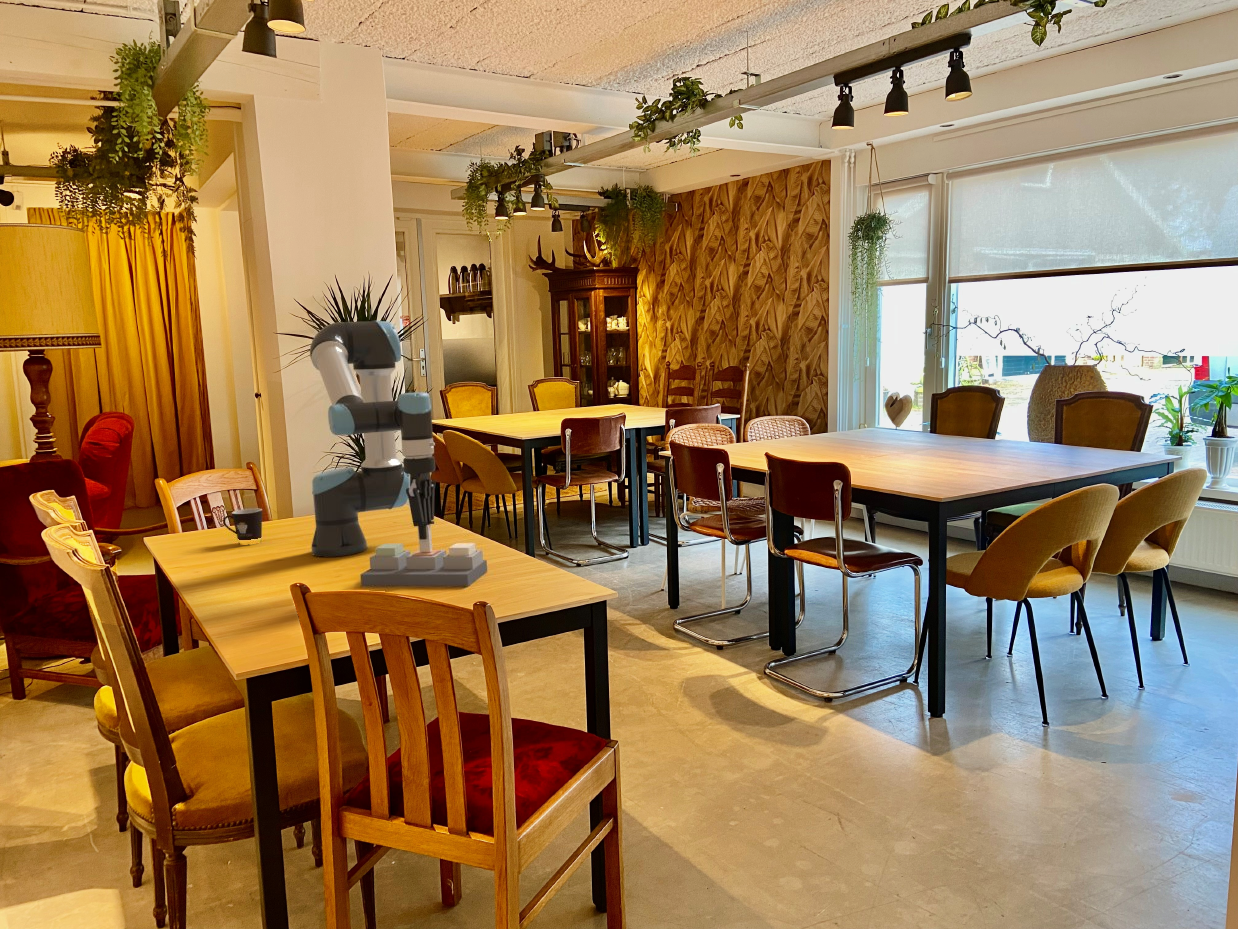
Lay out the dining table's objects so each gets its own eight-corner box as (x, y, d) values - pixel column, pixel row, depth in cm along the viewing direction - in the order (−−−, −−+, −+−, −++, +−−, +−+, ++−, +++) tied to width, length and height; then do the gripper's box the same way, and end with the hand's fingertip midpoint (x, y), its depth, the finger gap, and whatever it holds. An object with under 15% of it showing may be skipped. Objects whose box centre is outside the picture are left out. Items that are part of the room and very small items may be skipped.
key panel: (361, 586, 213) (359, 562, 213) (386, 571, 227) (384, 548, 226) (468, 586, 208) (466, 561, 208) (487, 571, 222) (485, 548, 221)
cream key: (449, 560, 215) (448, 547, 214) (457, 555, 220) (456, 543, 219) (469, 560, 214) (468, 547, 214) (476, 555, 219) (475, 543, 218)
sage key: (376, 560, 218) (375, 548, 218) (385, 556, 223) (384, 543, 223) (395, 560, 217) (394, 548, 217) (404, 556, 222) (403, 543, 222)
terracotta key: (413, 567, 217) (412, 554, 216) (421, 562, 222) (420, 549, 221) (432, 567, 216) (431, 554, 215) (440, 562, 221) (439, 549, 220)
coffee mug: (271, 541, 273) (268, 509, 272) (246, 547, 266) (243, 514, 264) (248, 538, 279) (244, 507, 278) (223, 544, 272) (219, 512, 271)
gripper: (422, 459, 208) (430, 557, 211) (443, 452, 221) (450, 545, 224) (392, 460, 210) (400, 557, 213) (414, 453, 222) (422, 545, 225)
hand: (426, 551), depth 218 cm, fingers closed
